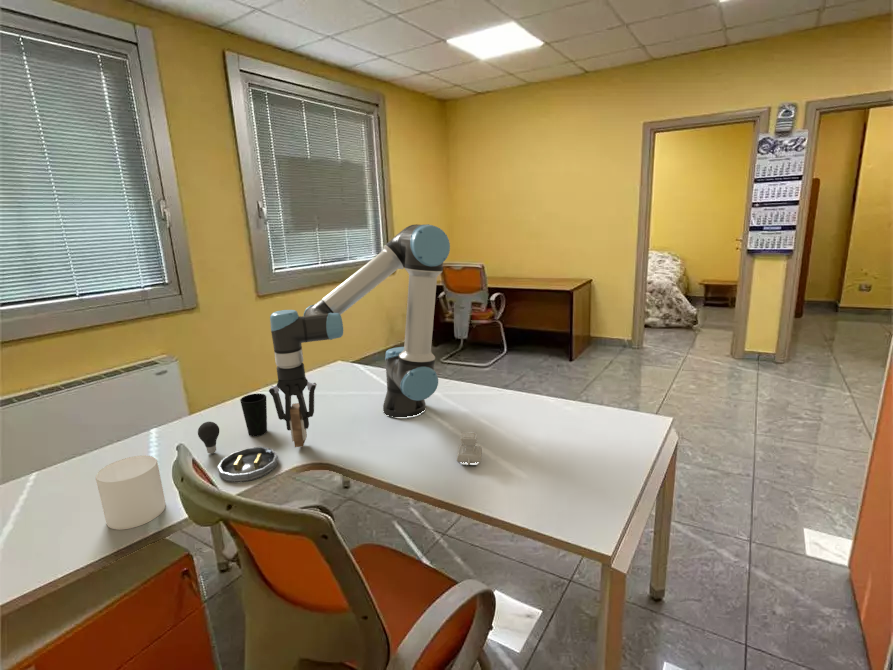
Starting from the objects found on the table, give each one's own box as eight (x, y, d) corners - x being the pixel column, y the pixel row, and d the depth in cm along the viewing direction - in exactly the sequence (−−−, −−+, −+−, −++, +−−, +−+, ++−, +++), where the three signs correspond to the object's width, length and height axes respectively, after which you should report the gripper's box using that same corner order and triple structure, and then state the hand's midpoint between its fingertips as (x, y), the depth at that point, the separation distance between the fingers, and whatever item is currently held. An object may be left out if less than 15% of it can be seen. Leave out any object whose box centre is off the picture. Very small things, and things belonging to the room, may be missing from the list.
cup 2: (261, 438, 143) (256, 403, 140) (239, 437, 144) (234, 401, 141) (275, 428, 150) (271, 394, 147) (254, 426, 151) (249, 392, 148)
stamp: (481, 471, 122) (481, 443, 120) (456, 470, 123) (456, 442, 121) (481, 454, 131) (482, 428, 129) (459, 454, 132) (458, 427, 129)
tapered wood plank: (305, 439, 139) (300, 402, 136) (303, 446, 134) (298, 409, 131) (297, 440, 138) (292, 403, 135) (294, 447, 134) (289, 409, 131)
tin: (282, 451, 134) (281, 443, 134) (270, 479, 120) (269, 470, 119) (229, 456, 132) (227, 448, 132) (210, 485, 118) (209, 476, 117)
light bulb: (227, 450, 136) (222, 419, 133) (212, 459, 131) (206, 427, 128) (212, 447, 138) (207, 417, 135) (197, 456, 132) (191, 425, 130)
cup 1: (140, 495, 114) (131, 452, 111) (177, 502, 111) (169, 458, 108) (93, 525, 103) (82, 478, 100) (132, 534, 100) (122, 486, 97)
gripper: (319, 358, 134) (327, 430, 141) (265, 362, 132) (275, 435, 139) (316, 366, 127) (324, 442, 133) (258, 370, 125) (270, 447, 131)
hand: (299, 438), depth 136 cm, fingers closed on tapered wood plank, 2 cm apart
